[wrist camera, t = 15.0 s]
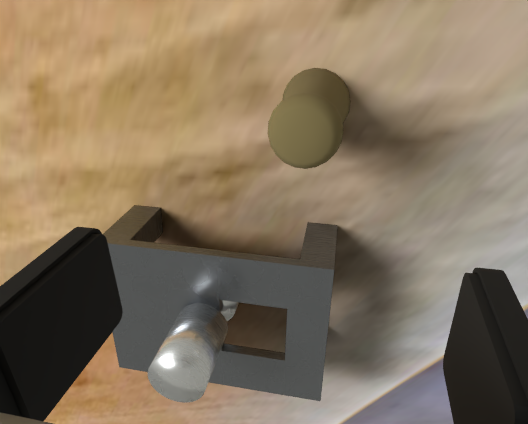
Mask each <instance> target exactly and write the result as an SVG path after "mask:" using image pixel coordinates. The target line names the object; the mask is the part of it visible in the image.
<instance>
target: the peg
mask: <svg viewBox="0 0 528 424" xmlns="http://www.w3.org/2000/svg"><path fill="white" fill-rule="evenodd" d="M238 304H239V302H232V301H225V300H223V307H222V309H221V312H220V311H219V310H217V309H216V308H214V307H212V306H210V305H207V304H203V303H192V304H189V305H187V306H185V307H184V308H183V309H182V310H181V312H180V314H179V315H178V317H177V319H176V321H175V322H174V324H173V326H172V328H171V329H170V331H169V333H168V335H167V337H166V338H165V340H164V342H163V344H162V345H161V347H160V349H159V351H158V353H157V354H156V356H155V358H154V360H153V361H152V363H151V365H150V367H149V369H148V379H149V381H150V383H151V385H152V386H153V388H154V389H155V390H156V391H157V392H159V393H160V394H161V395H163V396H164V397H166V398H168V399H171V400H174V401H177V402H193V401H196V400H198V399H199V398H201V397H202V396H203V394H204V392H205V389H206V387H207V384H208V382H209V379H210V376H211V374H212V371H213V369H214V366H215V363H216V361H217V358H218V356H219V353H220V350H221V348H222V345H223V343H224V340H225V337H226V335H227V332H228V323H227V321H228V320H230V319H231V318H232V317H233V316H234V314H235V311H236V309H237V306H238Z"/></svg>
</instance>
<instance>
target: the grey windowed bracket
mask: <svg viewBox="0 0 528 424" xmlns="http://www.w3.org/2000/svg"><path fill="white" fill-rule="evenodd" d="M162 233H163V227H162V218H161V209H160V208H158V207H148V206H137V205H134V206H133V207H132V208H131V209H130V210H129V211H128V212H127V213H126V214H124V215H123V216H122V217H121V218H120V219H119V220H118V221H117V222H116V223H115V224H113V225H112V226H111V227H110V228H109V229H108V230H107V231H106V232H105V233H104V234H103V235H104V236H105V237H106V239H107V243H108V247H109V252H110V256H111V261H112V265H113V269H114V274H115V278H116V283H117V287H118V291H119V296H120V300H121V305H122V310H123V313H122V318H121V321H120V322H119V324H118V325H117V326H116V328H115V329H114V330H113V337H114V342H115V347H116V352H117V357H118V362H119V367H122V368H128V369H133V370H139V371H145V372H148V369H149V367H150V365H151V363H152V361H153V360H154V358H155V356H156V354H157V353H158V351H159V349H160V347H161V345H162V344H163V342H164V340H165V338H166V337H167V335H168V333H169V331H170V329H171V328H172V326H173V324H174V322H175V321H176V319H177V317H178V315H179V314H180V312H181V310H182V309H183V308H184V307H185V306H187V305H189V304H192V303H203V304H207V305H210V306H212V307H214V308H216V309H217V310H219V311H220V312H221V309H222V307H223V300H225V301H232V302H240V303H247V304H255V305H262V306H269V307H277V308H284V309H287V326H286V347H285V353H282V352H276V351H269V350H263V349H256V348H250V347H243V346H237V345H230V344H224V343H223V345H222V348H221V350H220V353H219V356H218V358H217V361H216V363H215V366H214V369H213V371H212V374H211V376H210V379H209V382H210V383H216V384H222V385H228V386H234V387H240V388H246V389H252V390H257V391H263V392H269V393H275V394H281V395H287V396H293V397H299V398H305V399H311V400H316V401H320V400H321V391H322V381H323V372H324V362H325V353H326V343H327V334H328V324H329V315H330V305H331V296H332V286H333V277H334V266H335V253H336V239H337V225H329V224H319V223H309V222H308V224H307V228H306V233H305V238H304V243H303V247H302V252H301V257H300V259H293V258H284V257H275V256H266V255H258V254H249V253H240V252H231V251H223V250H214V249H205V248H196V247H188V246H179V245H170V244H161V243H154V242H155V241H156V240H157V238H158V237H159V236H160V235H161V234H162Z"/></svg>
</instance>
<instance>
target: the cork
mask: <svg viewBox="0 0 528 424" xmlns="http://www.w3.org/2000/svg"><path fill="white" fill-rule="evenodd" d="M349 107H350V97H349V91H348V89H347V87H346V85H345V83H344V81H343V80H342V79H341V78H340V77H339V76H338V75H336V74H335V73H333V72H331V71H329V70H326V69H320V68H312V69H308V70H304V71H302V72H301V73H299V74H297V75H296V76H294V77H293V79H292V80H291V81H290V82H289V83H288V84H287V87H286V89H285V91H284V94H283V100H282V101H281V103H280V104H279V105H278V106H277V107H276V108H275V110H274V111H273V113H272V115H271V117H270V120H269V123H268V137H269V141H270V145H271V147H272V149H273V151H274V152H275V154H276V155H277V156H278V157H279V158H280V159H281V160H282V161H283V162H284V163H286V164H289V165H291V166H293V167H297V168H304V169H307V168H312V167H317V166H319V165H321V164H323V163H325V162H327V161H328V160H329V159H330V158H331V157H332V156H333V155H334V154H335V153H336V152H337V150H338V148H339V146H340V144H341V141H342V135H343V122H344V121H345V119H346V117H347V115H348V113H349Z"/></svg>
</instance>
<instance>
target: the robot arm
mask: <svg viewBox="0 0 528 424" xmlns="http://www.w3.org/2000/svg"><path fill="white" fill-rule="evenodd" d="M122 313H123V310H122V305H121V300H120V296H119V291H118V287H117V283H116V278H115V274H114V269H113V265H112V261H111V256H110V252H109V247H108V243H107V239H106V237H105V236H104V235H103V234H102V233H101V232H100V230H98V229H95V228H85V227H76V228H74V229H73V230H72V231H70V232H69V233H68V234H67V235H65V236H64V237H63V238H61V239H60V240H59V241H58V242H56V243H55V244H54V245H53V246H51V247H50V248H49V249H47V250H46V251H45V252H44V253H42V254H41V255H40V256H38V257H37V258H36V259H35V260H33V261H32V262H31V263H30V264H28V265H27V266H26V267H24V268H23V269H22V270H21V271H19V272H18V273H17V274H16V275H14V276H13V277H12V278H10V279H9V280H8V281H7V282H5V283H4V284H3V285H1V286H0V424H53V423H48V422H43V421H44V420H45V419H46V417H47V416H48V415H49V414H50V412H51V411H52V410H53V408H54V407H55V406H56V404H57V403H58V402H59V401H60V399H61V398H62V397H63V395H64V394H65V393H66V391H67V390H68V389H69V388H70V386H71V385H72V384H73V382H74V381H75V380H76V378H77V377H78V376H79V375H80V373H81V372H82V371H83V369H84V368H85V367H86V365H87V364H88V363H89V362H90V360H91V359H92V358H93V356H94V355H95V354H96V352H97V351H98V350H99V349H100V347H101V346H102V345H103V343H104V342H105V341H106V339H107V338H108V337H109V335H110V334H111V333H112V332H113V330H114V329H115V328H116V326H117V325H118V324H119V322H120V321H121V318H122ZM443 370H444V376H445V381H446V386H447V391H448V396H449V401H450V406H451V412H452V417H453V422H454V424H528V319H527V317H526V315H525V313H524V311H523V309H522V307H521V305H520V303H519V301H518V299H517V296H516V294H515V292H514V290H513V288H512V286H511V284H510V282H509V280H508V278H507V276H506V274H505V272H504V271H502V270H495V269H485V268H475V269H474V270H473V273H465V274H464V277H463V280H462V284H461V288H460V293H459V297H458V301H457V305H456V309H455V313H454V317H453V321H452V325H451V330H450V334H449V338H448V342H447V346H446V350H445V354H444V360H443Z"/></svg>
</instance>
